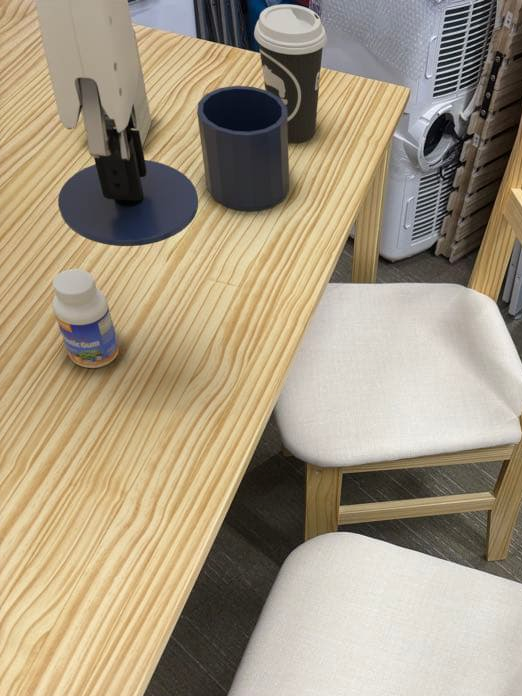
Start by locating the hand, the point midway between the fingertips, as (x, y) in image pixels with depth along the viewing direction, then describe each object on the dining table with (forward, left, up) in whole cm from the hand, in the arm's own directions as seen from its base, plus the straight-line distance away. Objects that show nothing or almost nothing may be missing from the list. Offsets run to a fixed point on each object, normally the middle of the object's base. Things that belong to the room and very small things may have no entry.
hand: (125, 184), depth 68 cm
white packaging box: (-10, +45, -22) cm, 51 cm away
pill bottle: (-8, +2, -22) cm, 24 cm away
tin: (+8, +34, -22) cm, 41 cm away
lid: (0, 0, -2) cm, 2 cm away
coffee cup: (+14, +48, -22) cm, 55 cm away
